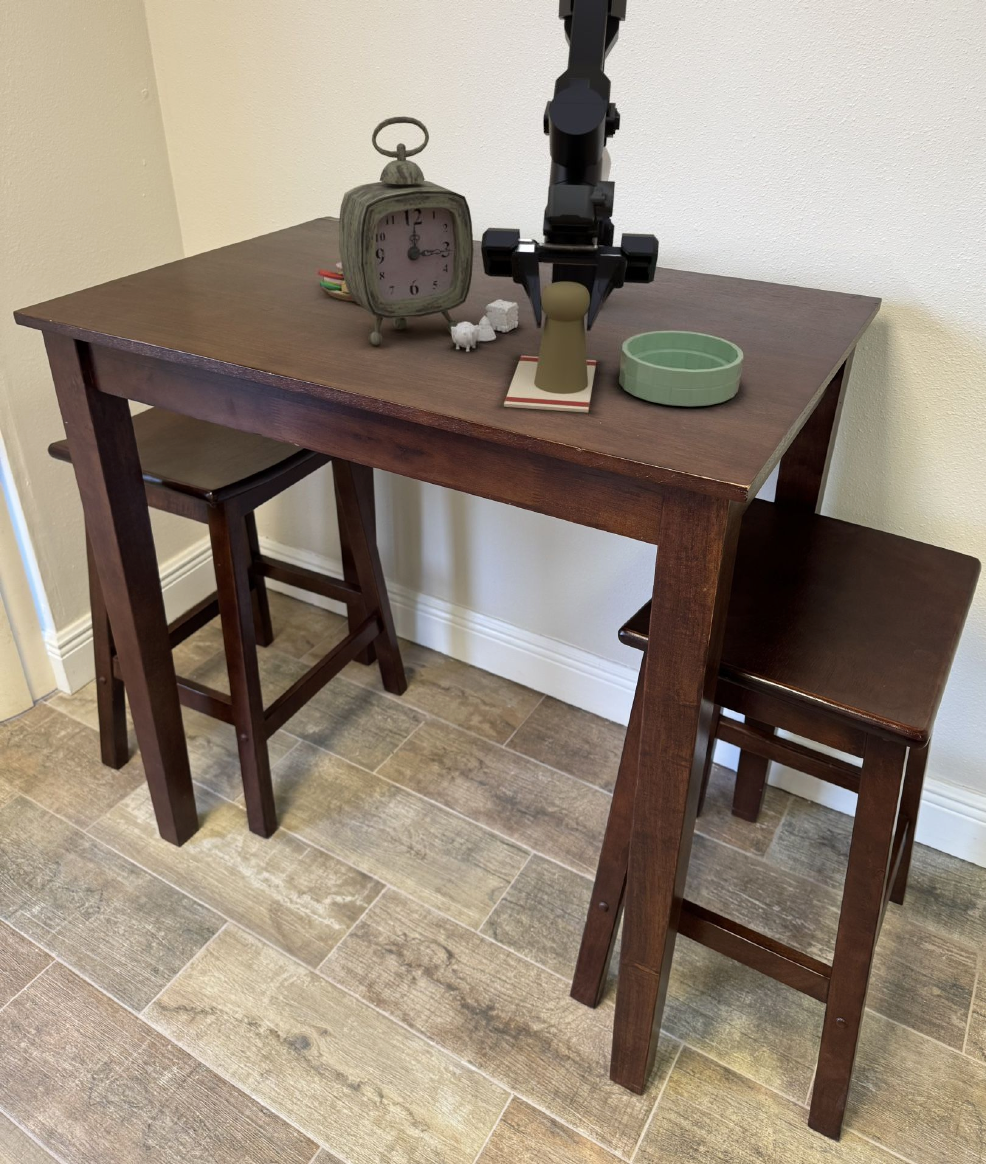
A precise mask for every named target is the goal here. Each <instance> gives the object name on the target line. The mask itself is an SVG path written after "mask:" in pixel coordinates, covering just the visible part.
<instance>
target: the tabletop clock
mask: <svg viewBox="0 0 986 1164" xmlns="http://www.w3.org/2000/svg"><path fill="white" fill-rule="evenodd" d="M396 124H411V125H413V126H417V127H418V128H419V129H420V130H421V131H422V133H423V134H424V141H423V143H422V144H420V145H419V146H418V147H415V148H413V149H408V150H407V149H406V148H407V146H406V145H405V144H404V143H401V142H400V143H398V144H397V145H396V150H388V149H383V148H382V147H380V146H379V145H378V143H377V136H378V135H379V133H380V132H381V131H382V130H383V129H384V128H386V127H388V126H390V125H396ZM429 140H430V134H429V131H428V128H427V127H426V125H425V124H424V123H423V122H422V121H421V120H418V119H417V118H415V117H410V116H393V117H389V118H386V119H383V121H381V122H379V123H378V125H377V126H376V127H375V128H374V130H373V133H372V136H371V143H372V146H373V148H374V149H375V150H376V151H377V152H378V153H379V154H381V155H382V156H385V157H388V158H393V160H391V161H390V162H388V163H387V164H386V165H385V166H384V168H383V169H382V171H381V174H380V177H379V181H377V182H372V183H371V182H370V183H366V184H360V185H358V186H355V187H353V188H351V189H350V190H348V191H346V192H344V195H343V196H342V197H343V198H342V201H341V203H340V208H339V209H340V211H339V219H338V220H339V221H338V227H339V228H338V238H339V239H338V240H339V241H338V243H339V244H338V245H339V246H338V248H339V257H340V262H341V263H342V270H343V271H342V270H341V271H342V272H343V276H344V280H345V284H346V287H347V290H348V292H349V294H350V296H351V298H352V299H353V300H355V301H356V304H358V305H360V306H361V307H362V308H364V309H365V310H366V311H368V312H369V313H370V314H372V315H373V316H375V321H374V324H375V325H374V331H372V332H370V334H368V342H369V344H371V346H379V345H380V344H381V343H382V340H383V338H382V335H381V333H380V329H381V326H382V323H383V319H394V321H393V325H394V327H395V328H396V329H397V330H404V329H405V328H406V327H407V325H408V324H407V323H408V322H407V319H408V318H421V317H426V316H431V315H434V314H439V313H441V314H442V316H443V317H444V318H445V320H446V321H447V326H446V327H447V331H448V332H449V333H451V332H452V330H451V327H456V326H457V324H458V323H459V321H458V320H455V319H454V320H453V319H452V317H451V315H450V313H449V311H451V310H454V309H456V308H458V307H459V306H461V305H462V304H464V303H466V301H467V298H468V296H469V292H470V288H471V283H472V278H473V277H472V275H473V263H474V251H475V249H474V237H473V236H474V235H473V221H472V215H471V210H470V207H469V203H468V201H467V199H466V196H464V195H462V194H460V193H458V192H456V191H453V190H451V189H448V188H446V187H444V186H441V185H439V184H436V183H434V182H431V181H429V180H425V175H424V172H423V171H422V169H421V167H420V166H419V165H418V164H417V163H416V162H414V161H412V160H409V159H407V158H410V157H413V156H416V155H417V154H420V153H422V152H423V151H424V150H425V148H426V147H427V146H428V144H429ZM355 301H354V302H355Z"/></svg>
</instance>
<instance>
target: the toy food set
mask: <svg viewBox="0 0 986 1164" xmlns="http://www.w3.org/2000/svg"><path fill="white" fill-rule="evenodd" d="M335 268H336V269H337V270H339V271H340V272H334V271H332V270H325V269H318V270H317V274H318V275H319V276H321V277H323V279H322V280H321V281H319V286H320V287H321V288H322V289H323V290H324V291H325V292H327V294H328V295H329V296H331V297H333V298H335V299H338V300H342V301H347V302H348V301H349V302H354V303H355V302H356V301H355V300H353V299H352V298H351V296H350V294H349V292H348V290H347V287H346V284H345V280H344V276H343V270H342V263H341V261H340V262H337V263H336V264H335ZM356 303H357V302H356Z"/></svg>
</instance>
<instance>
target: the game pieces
mask: <svg viewBox="0 0 986 1164" xmlns="http://www.w3.org/2000/svg"><path fill="white" fill-rule="evenodd" d="M519 307H520V306H519V304H518V303H517V302H516V301H515V302H513V301H507V300H503V299H496V300H495V301H493V302H490V303H487V305H486V307H485V311H486V314H484V315H483V316H482V317H481V318H480V319H479V322H478V324H476V325H474V324H473V323H471V322H470V321H461V322H458V324H457V326H456V327H451V330H452V332H450V334H451V339H452V341H453V343H454V344H455V346H456V347H455V350H460V347H462V348H465V349H466V350H465V352H470V351H471V350H470V347H471V348H472V349H476V348H477V347H476V343H477V342H491V341H495V340H496V338H497V335H496V334H495V331H498V332H501V333H509V331H511V330H512V329H514V328H517V327H518V324H519V321H518V319H519V317H518V315H519V314H518V313H519V310H518V309H519Z"/></svg>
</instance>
